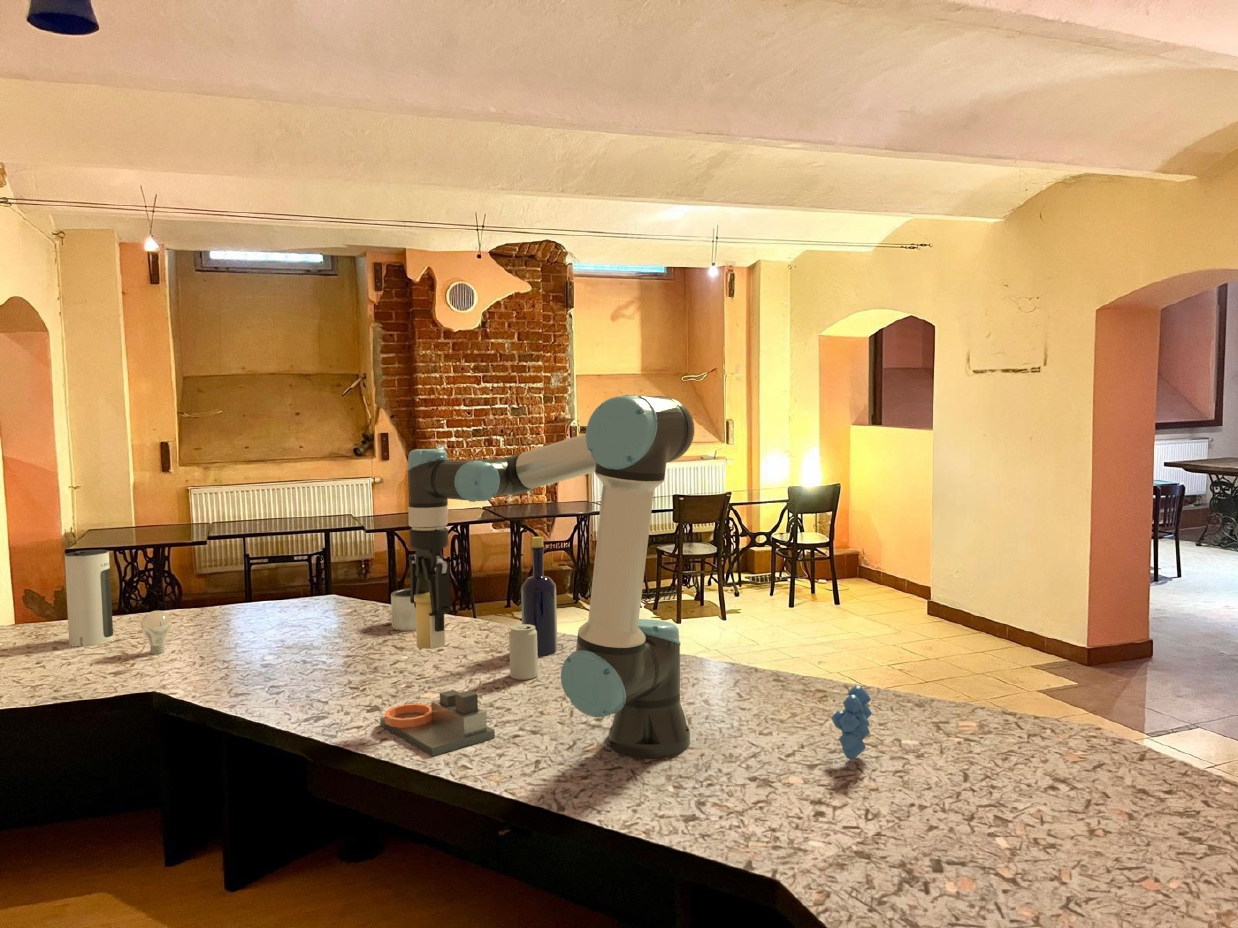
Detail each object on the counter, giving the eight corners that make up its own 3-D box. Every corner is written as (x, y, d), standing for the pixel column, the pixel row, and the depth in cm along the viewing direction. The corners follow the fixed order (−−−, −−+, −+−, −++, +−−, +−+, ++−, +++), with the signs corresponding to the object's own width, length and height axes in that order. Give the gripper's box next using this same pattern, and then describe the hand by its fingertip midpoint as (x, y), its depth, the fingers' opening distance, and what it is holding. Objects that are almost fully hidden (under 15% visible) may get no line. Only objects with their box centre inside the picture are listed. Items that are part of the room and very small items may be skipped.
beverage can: (533, 682, 193) (532, 630, 192) (506, 681, 194) (505, 629, 194) (541, 674, 199) (540, 623, 199) (515, 673, 201) (514, 622, 200)
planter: (384, 635, 238) (383, 596, 238) (403, 624, 251) (401, 587, 250) (426, 636, 236) (425, 596, 235) (443, 625, 248) (442, 587, 248)
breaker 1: (461, 716, 165) (461, 693, 165) (448, 719, 163) (447, 696, 163) (454, 712, 167) (453, 689, 167) (440, 715, 165) (439, 693, 165)
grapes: (841, 739, 156) (840, 675, 156) (878, 746, 153) (878, 680, 152) (821, 761, 146) (820, 693, 146) (860, 769, 143) (860, 699, 142)
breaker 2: (478, 717, 160) (477, 693, 160) (464, 721, 158) (463, 697, 158) (469, 713, 163) (469, 690, 162) (455, 717, 161) (455, 693, 160)
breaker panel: (494, 737, 160) (494, 711, 160) (432, 756, 152) (431, 728, 151) (439, 709, 176) (438, 686, 176) (380, 725, 167) (379, 700, 167)
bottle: (543, 662, 209) (541, 540, 208) (514, 657, 214) (511, 538, 213) (565, 653, 217) (563, 536, 216) (536, 648, 222) (534, 534, 220)
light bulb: (178, 655, 221) (176, 609, 220) (151, 661, 215) (149, 614, 215) (163, 651, 225) (161, 606, 224) (137, 658, 219) (134, 611, 218)
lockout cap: (452, 645, 169) (451, 595, 168) (423, 650, 165) (422, 599, 164) (437, 638, 174) (437, 590, 173) (409, 644, 170) (408, 594, 169)
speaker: (98, 651, 226) (93, 553, 225) (59, 651, 227) (54, 554, 225) (121, 640, 237) (117, 547, 236) (84, 641, 237) (80, 548, 236)
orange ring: (441, 719, 166) (441, 711, 166) (398, 730, 160) (398, 723, 160) (419, 707, 173) (419, 700, 173) (377, 718, 167) (377, 711, 167)
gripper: (468, 530, 163) (469, 650, 165) (425, 521, 177) (427, 631, 179) (432, 534, 158) (434, 657, 160) (391, 524, 173) (393, 637, 174)
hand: (430, 643), depth 169 cm, fingers closed on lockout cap, 5 cm apart
